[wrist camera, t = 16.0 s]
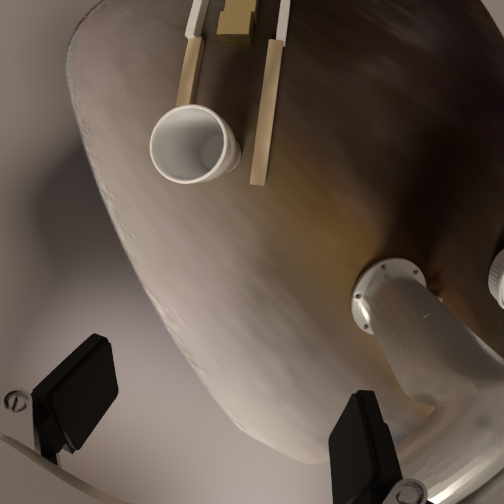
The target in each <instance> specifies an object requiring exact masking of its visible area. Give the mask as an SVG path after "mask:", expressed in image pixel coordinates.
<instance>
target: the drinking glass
mask: <svg viewBox="0 0 504 504" xmlns="http://www.w3.org/2000/svg"><path fill="white" fill-rule="evenodd" d="M150 154H151V158H152V161H153V163H154V165H155V167H156V168H157V170H158V171H159V172H160V173H161V174H162V175H163V176H164V177H166V178H167V179H169V180H171V181H174V182H177V183H184V184H193V183H202V182H207V181H210V180H213V179H215V178H217V177H219V176H221V175H222V174H225V173H228V172H230V171H232V170H233V169H234V168H235V167H236V166H237V165H238V163H239V161H240V159H241V148H240V145H239V143H238V142H237V140H236V138H235V136H234V133H233V131H232V129H231V128H230V126H229V125H228V124H227V122H226V121H225V120H224V119H223V118H222V117H220V116H219V115H218V114H217V113H215V112H214V111H212V110H211V109H209V108H207V107H204V106H201V105H195V104H188V105H182V106H179V107H176V108H174V109H172V110H170V111H169V112H167V113H166V114H165V115H164V116H163V117H162V118H161V119H160V120H159V121H158V123H157V124H156V126H155V128H154V130H153V132H152V135H151V139H150Z"/></svg>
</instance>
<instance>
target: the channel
mask: <svg viewBox="0 0 504 504" xmlns="http://www.w3.org/2000/svg"><path fill="white" fill-rule="evenodd" d="M204 46H205V42H204V40H203V38H202V37H191V38H189V40H188V44H187V49H186V54H185V58H184V63H183V68H182V73H181V79H180V84H179V90H178V96H177V102H176V107H179V106H182V105H188V104H194V101H195V95H196V89H197V83H198V77H199V72H200V66H201V61H202V56H203V51H204ZM282 50H283V41H282V40H273V39H269V44H268V51H267V58H266V65H265V73H264V80H263V87H262V95H261V102H260V109H259V117H258V124H257V132H256V140H255V147H254V155H253V163H252V171H251V178H250V184H254V185H262V186H265V182H266V174H267V167H268V159H269V151H270V144H271V136H272V128H273V121H274V113H275V105H276V97H277V90H278V82H279V74H280V66H281V58H282Z"/></svg>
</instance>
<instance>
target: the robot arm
mask: <svg viewBox="0 0 504 504" xmlns="http://www.w3.org/2000/svg"><path fill="white" fill-rule="evenodd" d="M382 265H383V266H382ZM381 266H382V267H381ZM356 294H358V295H356ZM350 306H351V312H352V316H353V318H354V320H355V322H356V323H357V325H358V326H359V327H360V328H361V329H362V330H363V331H365V332H367V333H369V334H372V335H375V337H376V339H377V341H378V343H379V345H380V347H381V349H382V351H383V353H384V355H385V357H386V359H387V361H388V362H389V364H390V366H391V369H392V371H393V373H394V375H395V377H396V379H397V381H398V383H399V385H400V387H401V388H402V390H403V392H404V393H405V394H406V395H407V396H408V397H409V398H410V399H412V400H413V401H415V402H418V403H421V404H426V405H435V406H436V407H435V409H434V411H433V412H432V413H431V414H430V415H429V417H428V418H427V419H426V420H425V421H424V422H423V423H422V424H421V425H420V426H419V427H418V428H417V429H416V430H415V431H414V432H413V433H412V434H410V435H409V436H408V437H407V438H406V439H405V440H404V441H402V442H401V443H400V444H399V445H398V446H396V447H394V444H393V440H392V437H391V434H390V430H389V427H388V425H387V424H386V423H384V421H383V418H382V415H381V411H380V408H379V405H378V402H377V399H376V396H375V393H374V391H369V390H358V391H357V393H356V394H355V393H353V394H352V395H351V397H350V399H349V401H348V403H347V405H346V407H345V409H344V411H343V413H342V415H341V416H340V418H339V420H338V422H337V424H336V425H335V427H334V429H333V431H332V432H331V434H330V436H329V442H328V443H329V454H330V465H331V478H332V495H333V504H504V358H503V357H501V356H500V355H498V354H497V353H496V352H495V351H494V350H492V349H491V348H490V347H489V346H487V345H486V344H485V343H484V342H483V341H482V340H481V339H480V338H479V337H478V336H477V335H475V334H474V333H473V332H472V331H471V330H470V329H469V328H468V327H467V326H466V325H465V324H464V323H463V322H462V321H461V320H460V319H459V318H458V317H457V316H456V315H455V314H454V313H453V312H452V311H451V310H450V309H449V308H448V307H446V306H445V305H444V304H443V303H442V298H441V297H436V296H435V295H433V294H432V293H431V292H430V291H429V290H428V289H427V288H426V281H425V278H424V275H423V273H422V272H421V270H420V269H419V268H418V267H417V266H416V265H415V264H414V263H412V262H411V261H409V260H407V259H404V258H398V257H393V258H387V259H383V260H380V261H378V262H376V263H374V264H373V265H372V266H370V267H369V268H368V269H367V270H366V271H364V272H363V273H362V275H361V276H360V277H359V279H358V280H357V282H356V284H355V286H354V288H353V291H352V294H351V301H350ZM117 395H118V385H117V379H116V374H115V367H114V361H113V354H112V348H111V343H109V342H108V339H107V338H106V337H103V336H100V335H98V334H95V333H94V334H92V335H91V336H90V337H89V338H87V340H85V341H84V342H83V343H82V344H81V345H80V346H79V347H78V348H76V349H75V350H74V351H73V352H72V353H71V354H70V355H69V356H68V357H67V358H66V359H65V360H63V362H61V364H59V365H58V366H57V367H56V368H55V369H54V370H53V371H52V372H51V373H50V374H49V375H48V376H47V377H46V378H45V379H44V380H43V381H42V382H40V383H39V384H38V386H36V387H35V388H34V389H33V392H32V393H31V394H30V393H29V392H28V391H26V390H24V389H22V388H11V389H9V390H7V391H6V392H5V393H4V394H3V395H2V397H1V400H0V504H131V503H128V502H125V501H123V500H121V499H119V498H116V497H114V496H112V495H110V494H108V493H106V492H103V491H101V490H99V489H97V488H95V487H93V486H91V485H90V484H88V483H86V482H84V481H82V480H80V479H79V478H77V477H75V476H73V475H72V474H70V473H68V472H66V471H64V470H63V469H62V465H61V460H60V455H59V452H60V450H61V449H62V448H63V449H64V450H66V451H68V452H69V453H71V454H73V453H74V451H75V450H79V449H80V448H81V447H82V445H83V444H84V443H85V441H86V440H87V438H88V437H89V435H90V434H91V433H92V431H93V430H94V428H95V427H96V425H97V424H98V423H99V421H100V420H101V418H102V417H103V415H104V414H105V412H106V411H107V410H108V408H109V407H110V406H111V404H112V403H113V401H114V400H115V399H116V397H117Z"/></svg>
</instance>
